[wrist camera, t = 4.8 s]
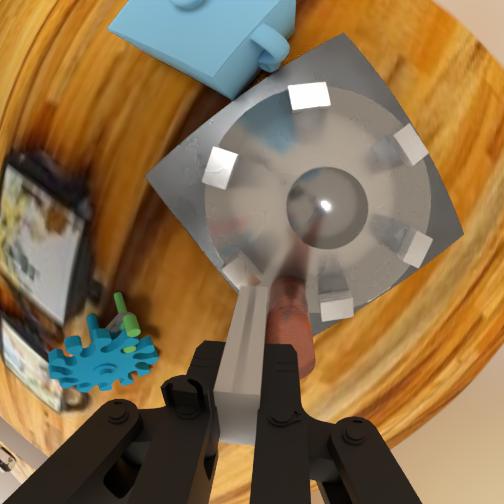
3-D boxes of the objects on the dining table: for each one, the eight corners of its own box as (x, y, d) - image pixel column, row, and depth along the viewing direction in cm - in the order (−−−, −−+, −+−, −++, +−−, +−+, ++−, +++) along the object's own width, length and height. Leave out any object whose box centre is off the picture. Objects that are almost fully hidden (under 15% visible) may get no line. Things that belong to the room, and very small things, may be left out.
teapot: (125, 45, 15) (62, 12, 8) (173, -14, 13) (130, -65, 6) (257, 119, 16) (238, 91, 9) (313, 50, 14) (328, -9, 7)
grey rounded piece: (186, 259, 17) (131, 325, 10) (253, 63, 13) (232, -3, 6) (365, 323, 18) (398, 405, 11) (445, 151, 14) (529, 158, 6)
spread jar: (19, 462, 62) (9, 478, 51) (4, 450, 62) (-7, 465, 51) (7, 449, 58) (-4, 465, 47) (-8, 436, 58) (-19, 451, 47)
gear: (124, 399, 24) (36, 393, 16) (108, 351, 27) (28, 335, 19) (192, 344, 22) (85, 324, 14) (167, 291, 26) (75, 256, 18)
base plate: (157, 173, 18) (143, 176, 16) (337, 43, 14) (344, 31, 12) (286, 334, 21) (286, 352, 19) (449, 226, 17) (465, 234, 15)
